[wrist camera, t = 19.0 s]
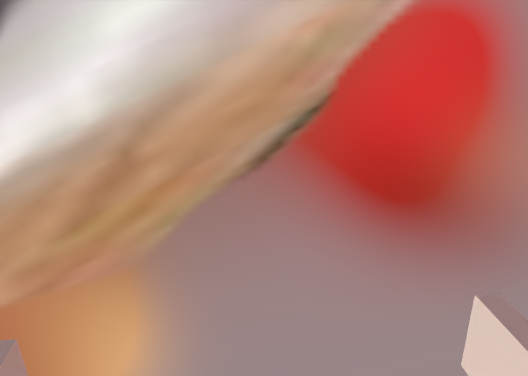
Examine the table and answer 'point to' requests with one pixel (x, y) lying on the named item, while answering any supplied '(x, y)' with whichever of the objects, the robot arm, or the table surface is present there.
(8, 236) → the table surface
